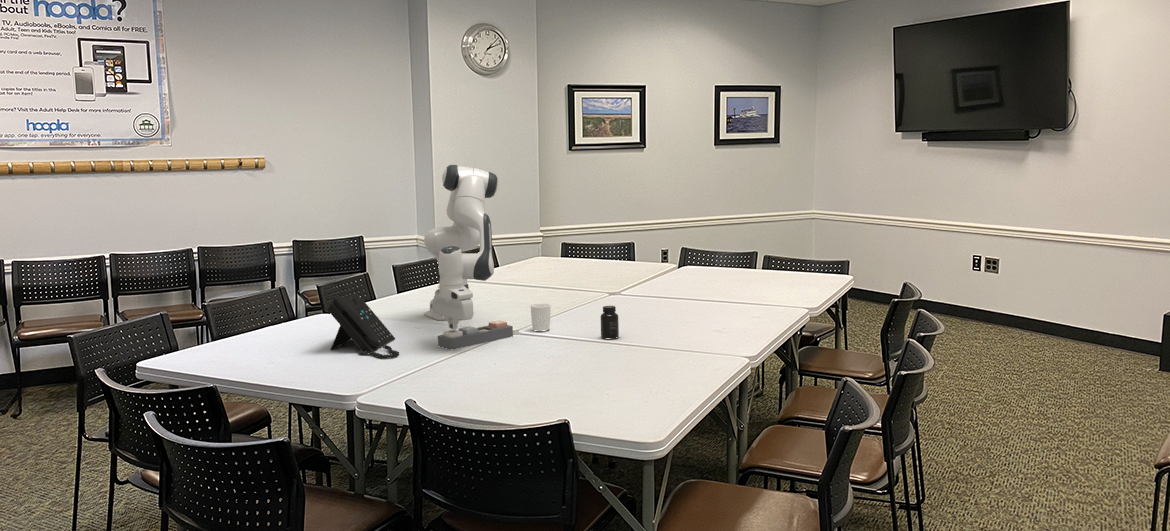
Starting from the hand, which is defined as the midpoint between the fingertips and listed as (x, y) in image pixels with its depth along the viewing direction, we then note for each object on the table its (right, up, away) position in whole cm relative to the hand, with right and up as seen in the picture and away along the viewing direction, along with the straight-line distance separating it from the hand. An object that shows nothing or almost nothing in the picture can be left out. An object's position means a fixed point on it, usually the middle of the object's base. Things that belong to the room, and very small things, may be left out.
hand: (453, 328), depth 307 cm
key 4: (+15, -1, +15) cm, 21 cm away
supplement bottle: (+58, -4, +11) cm, 59 cm away
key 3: (+10, -4, +11) cm, 15 cm away
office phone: (-29, -8, 0) cm, 30 cm away
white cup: (+31, -3, +26) cm, 40 cm away
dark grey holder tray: (+7, -5, +8) cm, 12 cm away
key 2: (+5, -3, +5) cm, 8 cm away
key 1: (0, -4, +1) cm, 4 cm away
